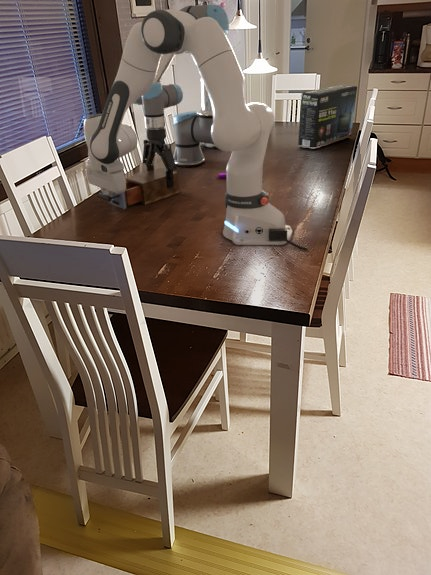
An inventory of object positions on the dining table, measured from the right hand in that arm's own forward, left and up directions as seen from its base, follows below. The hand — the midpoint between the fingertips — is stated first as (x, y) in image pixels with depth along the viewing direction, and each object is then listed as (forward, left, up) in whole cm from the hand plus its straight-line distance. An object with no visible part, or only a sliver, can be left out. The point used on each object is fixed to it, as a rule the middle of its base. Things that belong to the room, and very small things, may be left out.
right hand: (108, 199), depth 169 cm
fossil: (-11, -99, -4) cm, 99 cm away
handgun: (-36, -40, -4) cm, 54 cm away
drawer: (-4, -7, -3) cm, 9 cm away
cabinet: (-10, -18, -4) cm, 21 cm away
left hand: (-12, -22, -1) cm, 25 cm away
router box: (-69, -112, -4) cm, 132 cm away
